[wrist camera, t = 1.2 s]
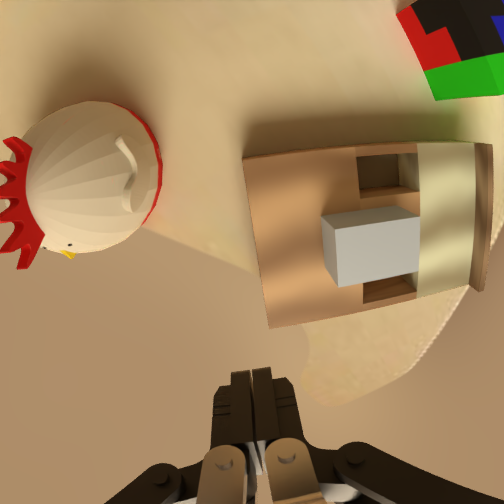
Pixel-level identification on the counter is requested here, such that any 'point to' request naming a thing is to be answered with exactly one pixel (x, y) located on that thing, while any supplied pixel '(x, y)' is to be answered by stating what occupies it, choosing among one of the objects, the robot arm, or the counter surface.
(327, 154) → the board
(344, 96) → the counter surface
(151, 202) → the kitchen timer
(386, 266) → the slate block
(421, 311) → the counter surface
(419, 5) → the puzzle toy
